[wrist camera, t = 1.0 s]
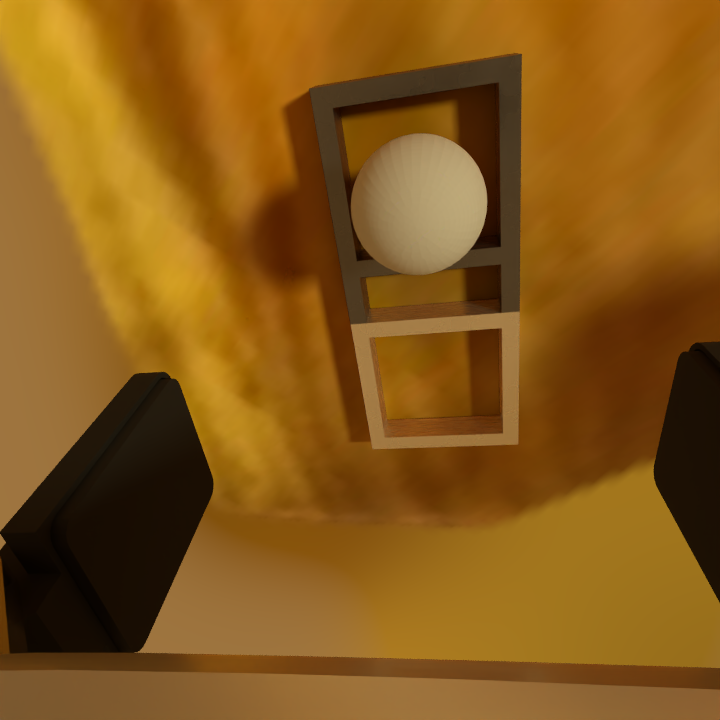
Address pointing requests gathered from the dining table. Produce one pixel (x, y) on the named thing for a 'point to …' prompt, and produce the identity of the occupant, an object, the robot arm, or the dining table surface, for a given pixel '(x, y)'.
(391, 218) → the light bulb
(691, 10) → the dining table surface
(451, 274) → the dining table surface
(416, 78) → the rail
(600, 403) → the dining table surface
